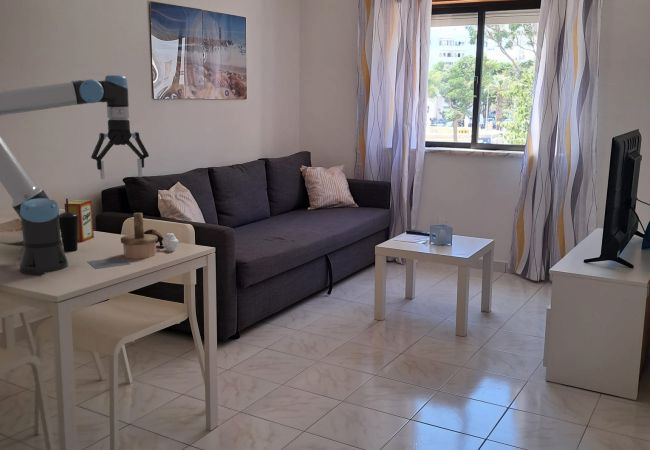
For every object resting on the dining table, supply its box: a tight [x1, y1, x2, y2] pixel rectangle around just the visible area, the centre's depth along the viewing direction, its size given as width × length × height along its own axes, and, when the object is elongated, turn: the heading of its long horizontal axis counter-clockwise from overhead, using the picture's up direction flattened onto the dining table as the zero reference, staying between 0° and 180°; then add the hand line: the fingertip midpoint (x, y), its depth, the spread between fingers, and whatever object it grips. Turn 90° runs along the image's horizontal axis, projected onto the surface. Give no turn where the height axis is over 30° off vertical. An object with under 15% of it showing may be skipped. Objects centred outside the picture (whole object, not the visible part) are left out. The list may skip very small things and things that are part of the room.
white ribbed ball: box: [162, 232, 179, 252], centre depth 253 cm, size 6×6×7 cm
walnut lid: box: [120, 212, 158, 245], centre depth 241 cm, size 13×13×10 cm
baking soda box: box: [63, 199, 95, 243], centre depth 271 cm, size 10×6×16 cm
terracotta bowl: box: [122, 242, 157, 260], centre depth 242 cm, size 11×11×6 cm
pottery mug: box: [144, 228, 164, 248], centre depth 259 cm, size 12×10×8 cm
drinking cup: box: [59, 197, 79, 253], centre depth 251 cm, size 8×8×20 cm
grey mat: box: [87, 256, 131, 270], centre depth 231 cm, size 12×12×1 cm
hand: (121, 177), depth 243 cm, fingers open, 13 cm apart
